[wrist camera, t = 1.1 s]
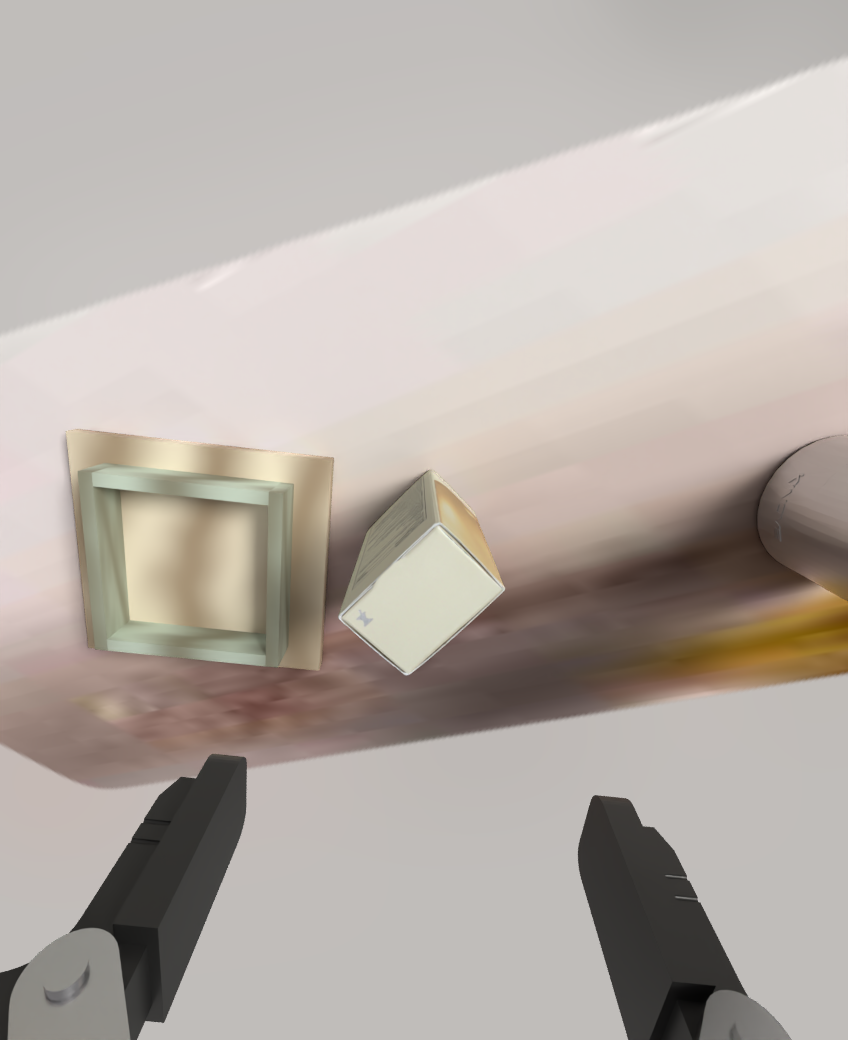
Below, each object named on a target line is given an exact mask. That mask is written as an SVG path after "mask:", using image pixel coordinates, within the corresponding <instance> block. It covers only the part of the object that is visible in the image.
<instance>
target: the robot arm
mask: <svg viewBox="0 0 848 1040" xmlns="http://www.w3.org/2000/svg"><path fill="white" fill-rule="evenodd" d="M758 531H759V535H760V539H761V541H762V543H763V545H764V547H765V548H766V550H767V552H768V553H769V554H770V555H771V556H772V557H773V558H774V559H775V560H776V561H778V562H780V563H781V564H783V565H784V566H786V567H788V568H790V569H791V570H793V571H795V572H797V573H799V574H800V575H802V576H804V577H806V578H808V579H809V580H811V581H813V582H815V583H816V584H818V585H820V586H822V587H824V588H825V589H827V590H828V591H830V592H832V593H834V594H836V595H837V596H839V597H841V598H843V599H845V600H846V601H848V435H839V436H832V437H829V438H825V439H822V440H818V441H816V442H814V443H812V444H810V445H808V446H806V447H804V448H802V449H801V450H799V451H798V452H796V453H795V454H794V455H792V456H791V457H790V458H788V459H787V460H786V461H785V462H784V463H783V464H782V465H781V466H780V467H779V468H778V469H777V470H776V472H775V473H774V475H773V476H772V478H771V479H770V481H769V482H768V484H767V485H766V488H765V490H764V492H763V495H762V497H761V499H760V504H759V509H758ZM246 774H247V762H246V758H245V757H238V756H229V755H219V754H211V755H210V756H209V757H208V759H207V760H206V762H205V764H204V766H203V767H202V769H201V771H200V773H199V774H198V776H197V778H186V777H180V778H179V779H178V780H177V781H176V782H174V783H173V784H172V785H171V786H170V787H169V788H167V789H166V790H165V791H164V792H163V793H162V794H160V795H159V797H158V798H157V800H156V801H155V803H154V804H153V806H152V807H151V809H150V811H149V812H148V814H147V815H146V817H145V818H144V822H143V823H141V825H140V826H139V828H138V829H137V831H136V832H135V834H134V836H133V837H132V841H131V843H128V845H127V847H126V848H125V850H124V851H123V853H122V854H121V856H120V858H119V859H118V861H117V862H116V864H115V866H114V867H113V868H112V870H111V872H110V873H109V875H108V876H107V878H106V879H105V881H104V883H103V884H102V886H101V887H100V889H99V891H98V892H97V894H96V895H95V897H94V898H93V900H92V901H91V903H90V905H89V906H88V908H87V909H86V911H85V912H84V914H83V916H82V917H81V918H80V920H79V921H78V923H77V924H76V926H75V927H74V928H73V929H72V930H71V931H70V933H69V934H66V935H64V936H62V937H60V938H59V939H57V940H55V941H54V942H52V943H51V944H49V945H48V946H47V947H45V948H44V949H43V950H42V951H41V952H39V954H37V956H35V958H34V959H33V960H31V962H30V963H28V964H25V965H23V966H21V967H18V968H15V969H12V970H9V971H5V972H1V973H0V1040H137V1038H138V1036H139V1034H140V1031H141V1029H142V1027H143V1025H144V1022H145V1021H152V1022H162V1023H164V1021H165V1019H166V1017H167V1014H168V1011H169V1009H170V1007H171V1005H172V1002H173V1000H174V997H175V995H176V992H177V990H178V987H179V985H180V982H181V980H182V978H183V975H184V973H185V970H186V968H187V965H188V963H189V960H190V958H191V956H192V953H193V951H194V948H195V946H196V943H197V941H198V939H199V936H200V934H201V931H202V929H203V926H204V924H205V921H206V919H207V916H208V914H209V912H210V909H211V907H212V904H213V902H214V900H215V897H216V895H217V892H218V890H219V887H220V885H221V882H222V880H223V878H224V875H225V873H226V870H227V868H228V865H229V863H230V860H231V858H232V856H233V853H234V851H235V848H236V846H237V843H238V841H239V838H240V835H241V832H242V829H243V825H244V819H245V814H246V779H247V778H246V776H247V775H246ZM578 863H579V871H580V876H581V879H582V883H583V886H584V890H585V893H586V896H587V900H588V903H589V907H590V910H591V914H592V917H593V920H594V924H595V927H596V931H597V934H598V938H599V941H600V944H601V948H602V951H603V954H604V958H605V961H606V965H607V968H608V972H609V975H610V979H611V982H612V985H613V989H614V992H615V996H616V999H617V1003H618V1006H619V1009H620V1013H621V1016H622V1019H623V1023H624V1026H625V1030H626V1033H627V1037H628V1040H791V1038H790V1037H789V1035H788V1034H787V1032H786V1031H785V1030H784V1028H783V1027H782V1026H781V1024H780V1023H779V1022H778V1021H777V1020H776V1019H775V1018H774V1017H773V1016H772V1015H771V1014H770V1013H769V1012H768V1011H767V1010H766V1009H765V1008H764V1007H762V1006H761V1005H760V1004H759V1003H757V1002H756V1001H754V1000H753V999H751V998H749V997H748V995H747V994H746V992H745V990H744V988H743V987H742V985H741V983H740V981H739V979H738V977H737V975H736V973H735V971H734V969H733V967H732V965H731V963H730V961H729V959H728V957H727V955H726V953H725V951H724V949H723V947H722V945H721V943H720V941H719V939H718V937H717V935H716V933H715V931H714V929H713V927H712V925H711V923H710V921H709V919H708V917H707V915H706V913H705V911H704V909H703V907H702V905H701V903H699V902H698V900H697V895H696V893H695V891H694V889H693V887H692V885H691V883H690V881H688V880H687V875H686V873H685V871H684V869H683V867H682V865H681V863H680V861H679V859H678V857H677V855H676V853H675V851H674V850H673V849H672V848H671V846H670V845H669V844H668V843H667V842H666V841H665V840H664V838H663V837H662V836H661V835H660V834H659V833H658V832H657V830H656V829H655V828H653V827H643V826H642V824H641V821H640V819H639V817H638V815H637V813H636V811H635V808H634V807H633V805H632V803H631V802H630V801H629V800H628V799H626V798H616V797H607V796H606V797H605V796H597V795H595V796H593V797H592V799H591V802H590V806H589V809H588V813H587V817H586V820H585V824H584V827H583V831H582V835H581V838H580V842H579V847H578Z"/></svg>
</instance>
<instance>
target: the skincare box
mask: <svg viewBox="0 0 848 1040" xmlns="http://www.w3.org/2000/svg"><path fill="white" fill-rule="evenodd" d="M504 590H505V587H504V585H503V582H502V580H501V578H500V575H499V572H498V570H497V568H496V565H495V562H494V560H493V557H492V555H491V552H490V550H489V547H488V545H487V542H486V540H485V537H484V535H483V533H482V530H481V528H480V525H479V523H478V520H477V517H476V515H475V513H474V511H473V510H472V509H471V508H470V507H469V506H468V505H467V504H466V503H465V502H464V501H463V500H462V499H461V498H460V497H459V496H458V494H457V493H456V492H455V491H454V490H453V489H452V488H451V487H450V486H449V485H448V484H447V483H446V482H445V481H444V480H443V479H442V478H441V477H440V476H439V475H438V474H437V473H436V472H435V471H433V470H429V471H427V472H426V473H425V474H424V475H423V476H422V477H421V478H420V479H419V480H417V481H416V482H415V483H414V484H413V485H412V486H411V487H410V488H409V489H408V490H407V491H406V492H405V493H404V494H403V495H402V496H401V497H400V498H399V499H398V500H397V501H396V502H395V503H394V504H393V505H392V506H391V507H390V508H389V509H388V510H387V511H386V512H385V513H384V514H383V515H382V516H381V517H380V518H379V519H378V520H377V521H376V522H375V523H374V525H373V526H372V527H371V528H370V529H369V530H368V531H367V533H366V536H365V539H364V542H363V545H362V548H361V551H360V554H359V556H358V559H357V562H356V565H355V568H354V571H353V574H352V577H351V580H350V583H349V586H348V589H347V592H346V595H345V598H344V601H343V603H342V607H341V610H340V613H339V615H338V618H339V620H340V621H342V622H343V623H344V624H345V625H346V626H347V627H349V628H350V629H351V630H352V631H353V632H354V633H355V634H356V635H358V636H359V637H360V638H361V639H362V640H363V641H364V642H365V643H367V644H368V645H369V646H370V647H371V648H372V649H373V650H375V651H376V652H377V653H378V654H379V655H380V656H382V657H383V658H384V659H385V660H386V661H388V662H389V663H390V664H391V665H393V666H394V667H396V668H397V669H398V670H399V671H400V672H402V673H403V674H404V675H409V674H411V673H412V672H413V671H415V670H416V669H417V668H419V667H420V666H421V665H422V664H424V663H425V662H426V661H428V660H429V659H430V658H431V657H432V656H433V655H435V654H436V653H437V652H438V651H439V650H440V649H442V648H443V647H444V646H445V645H446V644H447V643H448V642H449V641H451V640H452V639H453V638H454V637H455V636H456V635H457V634H458V633H460V632H461V631H462V630H463V629H464V628H465V627H466V626H467V625H468V624H469V623H471V622H472V621H473V620H474V619H475V618H476V617H477V616H478V615H479V614H480V613H481V612H482V611H483V610H484V609H485V608H487V607H488V606H489V605H490V604H491V603H492V602H493V601H494V600H495V599H496V598H497V597H498V596H499V595H500V594H501V593H502V592H503V591H504Z"/></svg>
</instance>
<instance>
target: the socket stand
mask: <svg viewBox="0 0 848 1040" xmlns="http://www.w3.org/2000/svg"><path fill="white" fill-rule="evenodd" d="M66 437H67V447H68V456H69V466H70V476H71V485H72V495H73V504H74V514H75V524H76V533H77V543H78V552H79V562H80V571H81V581H82V591H83V600H84V610H85V619H86V629H87V639H88V648H95V649H96V650H106V651H116V652H126V653H136V654H146V655H156V656H166V657H176V658H186V659H196V660H206V661H216V662H226V663H236V664H246V665H256V666H267V667H277V668H278V667H287V668H297V669H307V670H317V671H319V669H320V666H321V664H322V652H323V635H324V618H325V601H326V583H327V566H328V549H329V532H330V515H331V498H332V481H333V463H334V458H330V457H321V456H313V455H304V454H295V453H286V452H277V451H268V450H259V449H250V448H241V447H232V446H223V445H215V444H206V443H197V442H188V441H179V440H170V439H161V438H152V437H143V436H134V435H125V434H117V433H108V432H99V431H90V430H81V429H75V430H69V431H66Z"/></svg>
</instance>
